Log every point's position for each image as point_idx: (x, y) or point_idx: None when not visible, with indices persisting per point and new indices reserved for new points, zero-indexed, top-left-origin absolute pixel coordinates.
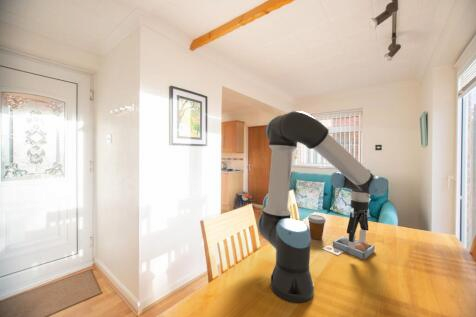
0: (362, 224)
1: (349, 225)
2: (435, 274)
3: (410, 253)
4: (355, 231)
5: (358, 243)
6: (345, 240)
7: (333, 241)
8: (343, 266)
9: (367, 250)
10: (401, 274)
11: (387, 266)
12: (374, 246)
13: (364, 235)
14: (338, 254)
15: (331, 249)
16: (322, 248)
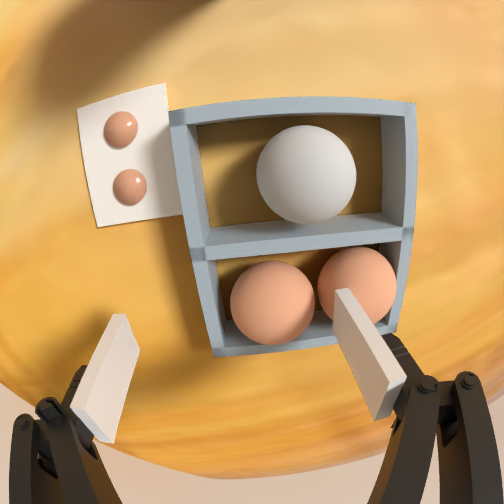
0: (382, 476)
1: (20, 489)
2: (339, 442)
3: (458, 364)
4: (102, 472)
5: (274, 320)
6: (271, 191)
7: (170, 115)
8: (55, 304)
9: (277, 350)
10: (240, 424)
11: (257, 394)
12: (392, 330)
13: (357, 378)
14: (106, 225)
15: (121, 149)
16: (77, 111)
